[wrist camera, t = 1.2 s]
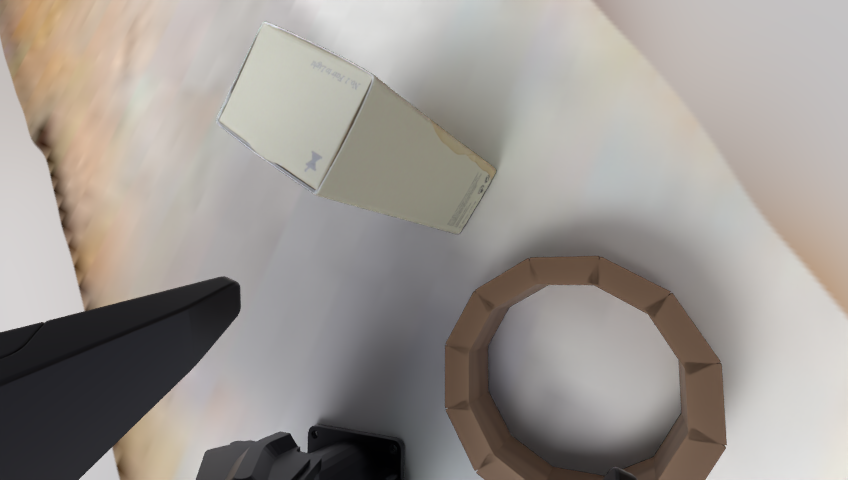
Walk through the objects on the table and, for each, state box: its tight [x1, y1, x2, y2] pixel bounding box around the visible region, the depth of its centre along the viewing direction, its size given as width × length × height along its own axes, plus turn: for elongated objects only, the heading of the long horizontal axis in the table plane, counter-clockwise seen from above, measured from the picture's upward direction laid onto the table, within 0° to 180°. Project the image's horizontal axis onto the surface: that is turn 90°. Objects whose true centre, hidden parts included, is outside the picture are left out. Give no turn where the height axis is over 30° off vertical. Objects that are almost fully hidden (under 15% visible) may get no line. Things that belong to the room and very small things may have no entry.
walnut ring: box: [445, 256, 727, 480], centre depth 20 cm, size 11×11×3 cm
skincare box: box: [216, 21, 496, 234], centre depth 20 cm, size 6×4×12 cm
